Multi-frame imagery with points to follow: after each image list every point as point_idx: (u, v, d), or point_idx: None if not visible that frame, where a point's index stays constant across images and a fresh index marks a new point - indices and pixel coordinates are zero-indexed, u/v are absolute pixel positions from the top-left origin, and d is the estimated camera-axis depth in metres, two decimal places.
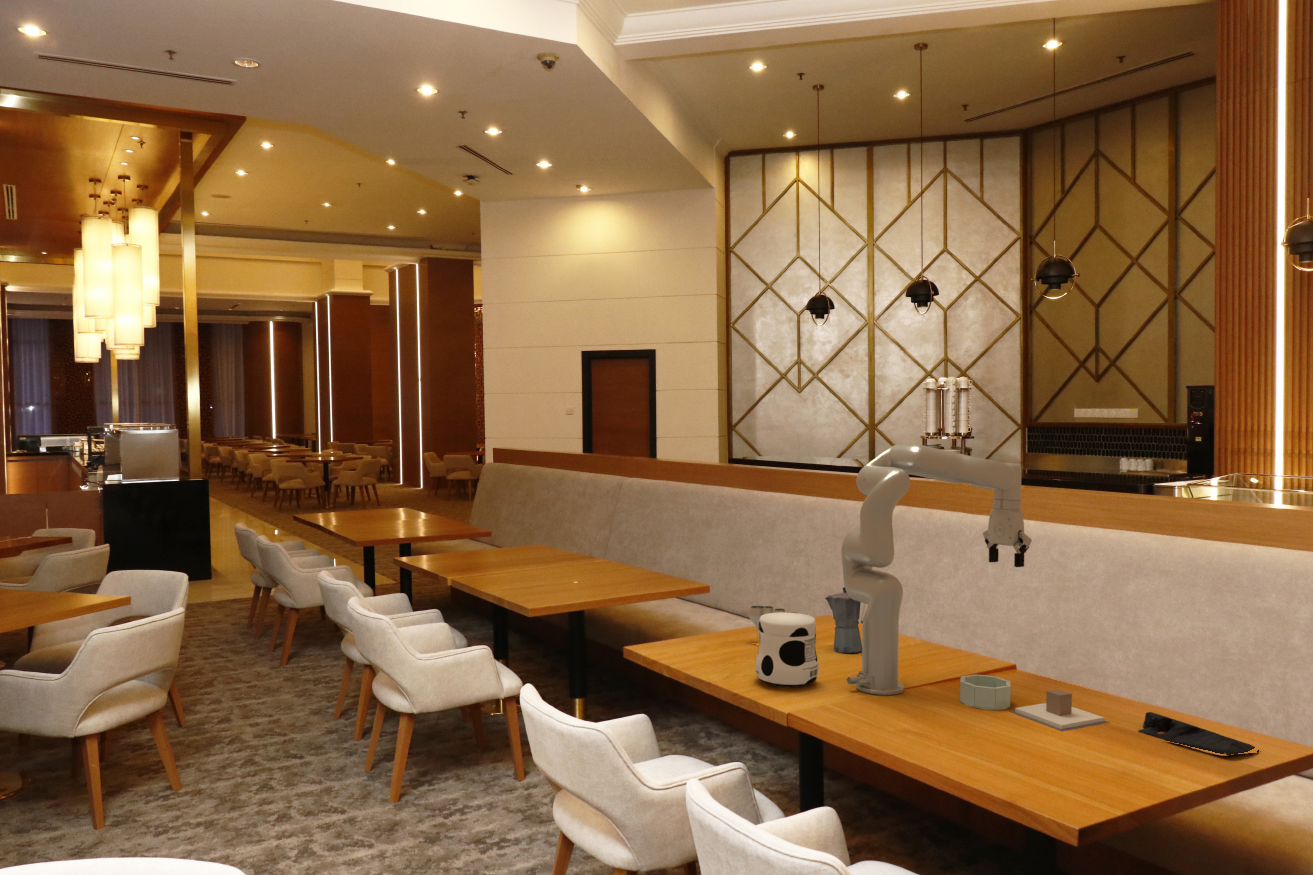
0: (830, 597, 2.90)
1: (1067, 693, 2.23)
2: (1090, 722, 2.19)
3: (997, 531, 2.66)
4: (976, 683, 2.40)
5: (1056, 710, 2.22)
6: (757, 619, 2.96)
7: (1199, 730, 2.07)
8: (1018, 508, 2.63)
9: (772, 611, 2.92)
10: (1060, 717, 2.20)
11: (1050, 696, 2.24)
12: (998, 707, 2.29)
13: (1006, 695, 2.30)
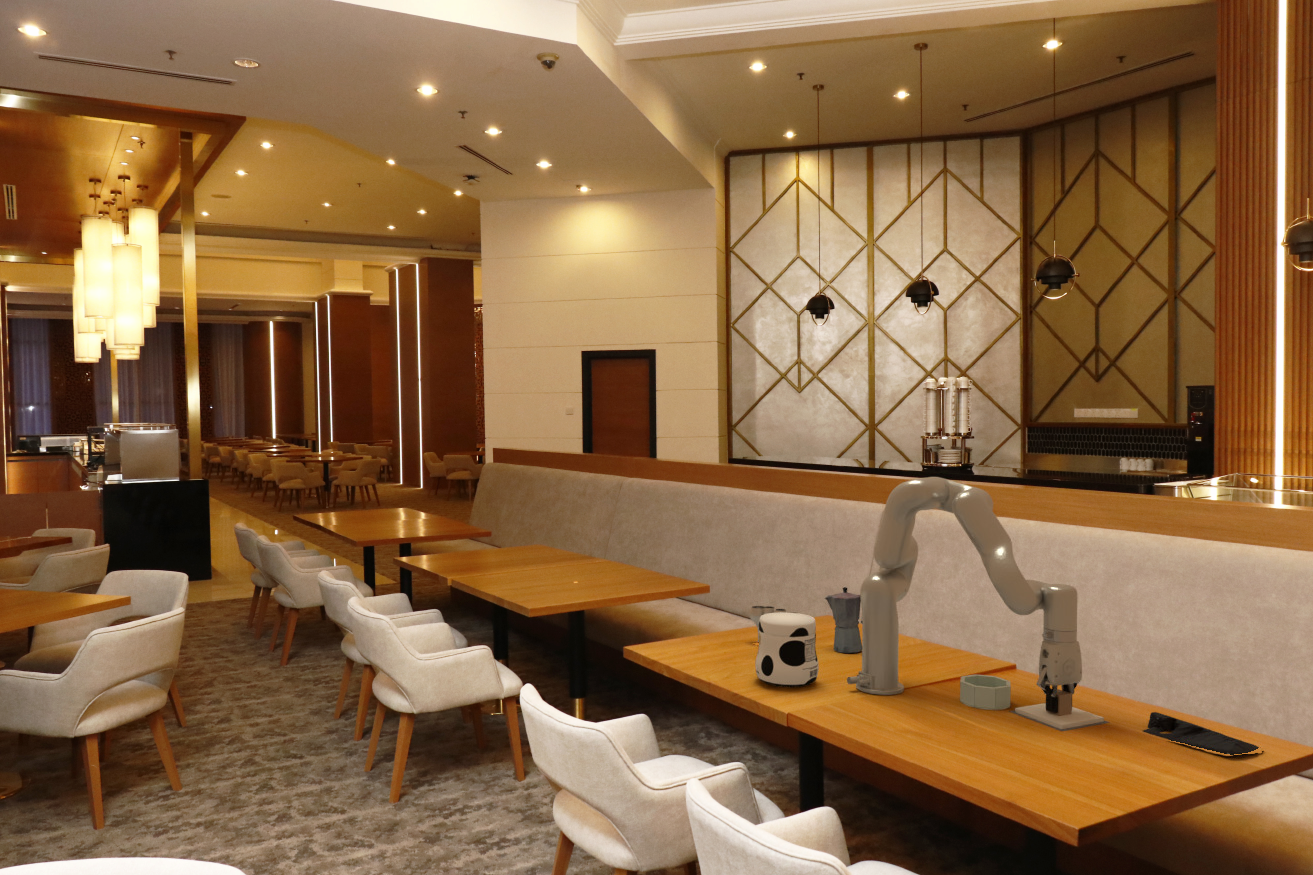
0: (830, 597, 2.90)
1: (1067, 693, 2.23)
2: (1090, 722, 2.19)
3: (1066, 669, 2.21)
4: (976, 683, 2.40)
5: None
6: (758, 619, 2.96)
7: (1203, 730, 2.07)
8: None
9: (773, 611, 2.92)
10: (1060, 717, 2.20)
11: None
12: (998, 707, 2.29)
13: (1006, 695, 2.30)
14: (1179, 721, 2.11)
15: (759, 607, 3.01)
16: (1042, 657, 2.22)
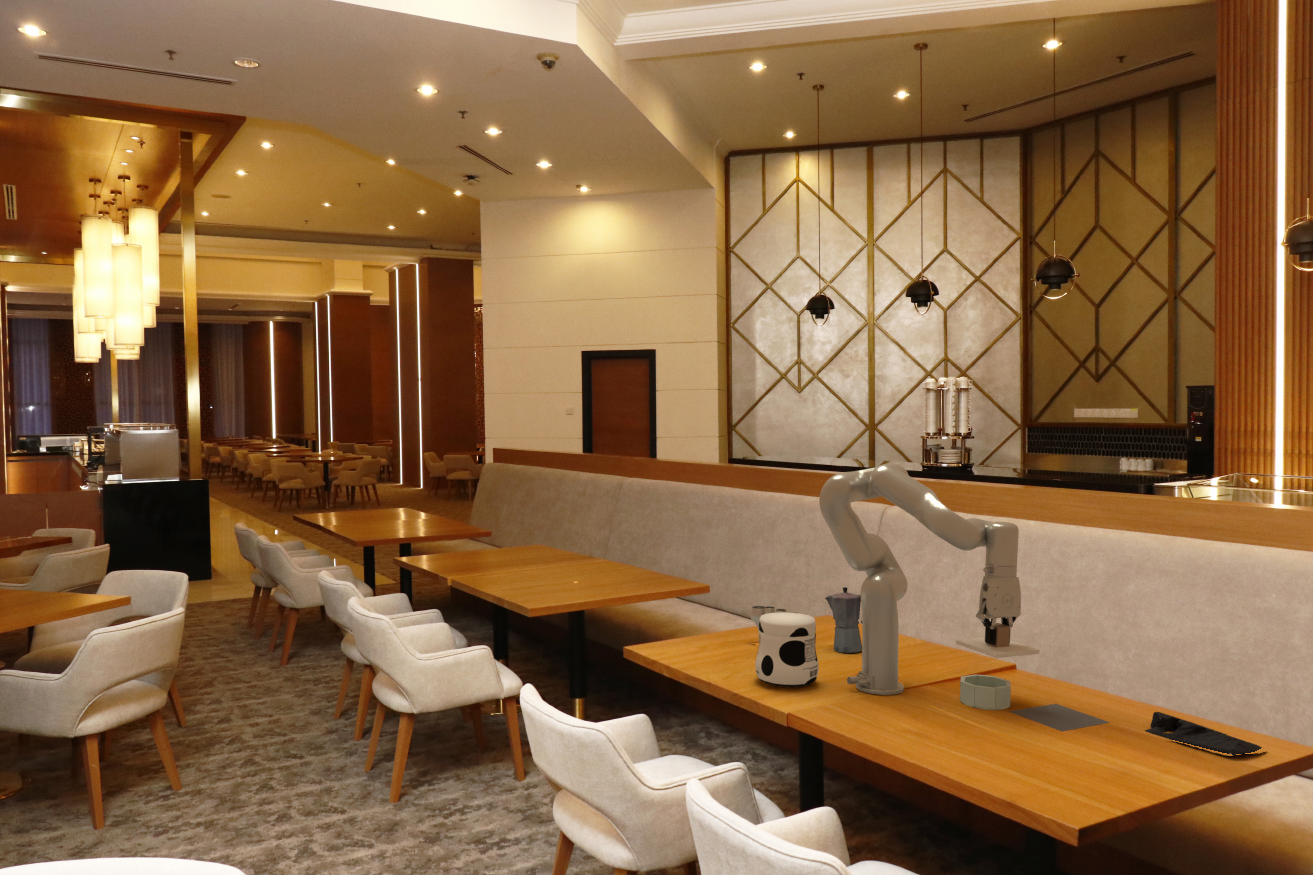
0: (830, 597, 2.90)
1: (1006, 626, 2.32)
2: (1026, 653, 2.28)
3: (1005, 602, 2.30)
4: (976, 683, 2.40)
5: None
6: (758, 619, 2.95)
7: (1206, 730, 2.07)
8: None
9: (773, 611, 2.92)
10: (997, 648, 2.29)
11: None
12: (998, 707, 2.29)
13: (1006, 695, 2.30)
14: (1182, 721, 2.11)
15: (760, 607, 3.00)
16: (982, 591, 2.31)
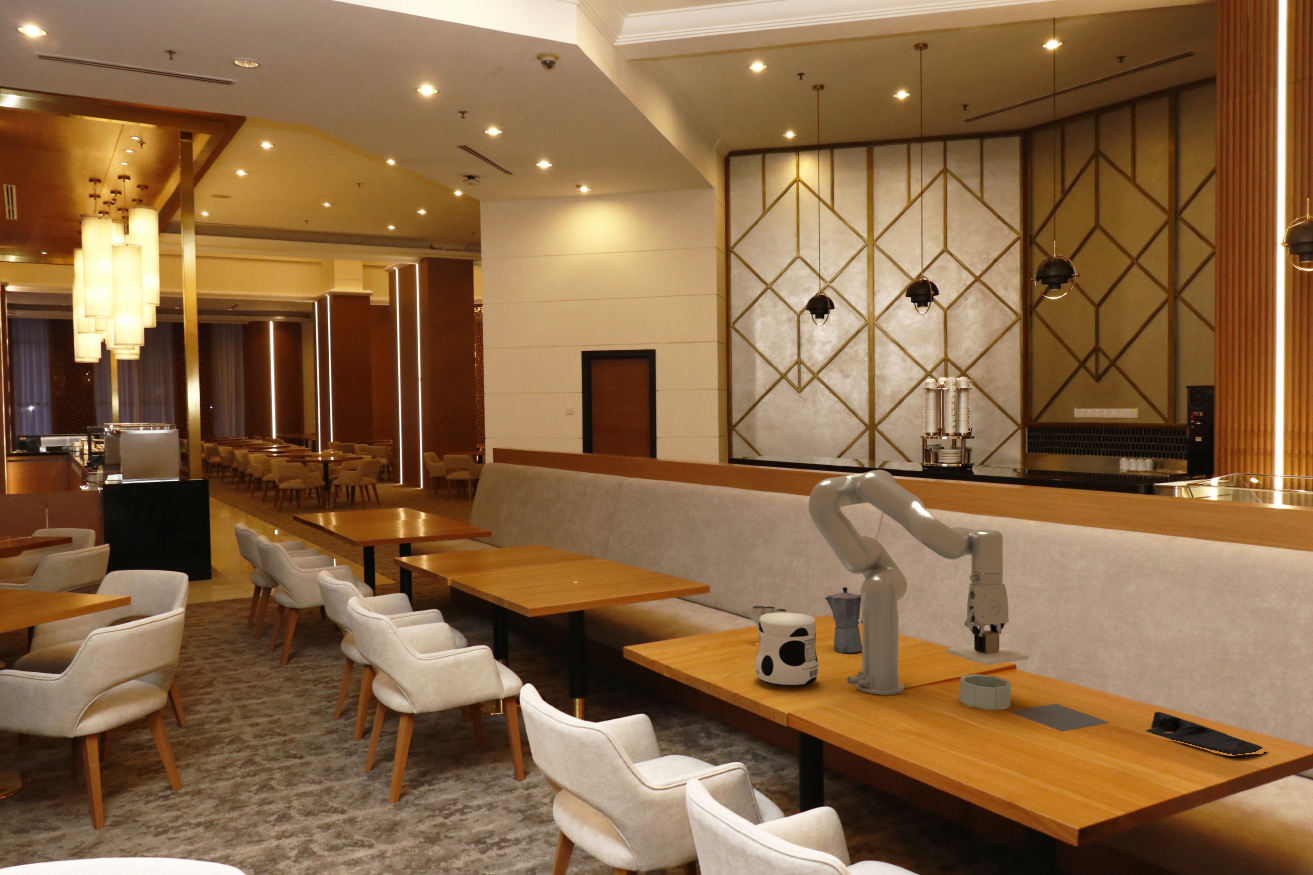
0: (830, 597, 2.90)
1: (994, 633, 2.34)
2: (1015, 659, 2.30)
3: (992, 610, 2.32)
4: (976, 683, 2.40)
5: None
6: (759, 619, 2.95)
7: (1207, 730, 2.07)
8: None
9: (773, 611, 2.92)
10: (987, 655, 2.31)
11: None
12: (998, 707, 2.29)
13: (1006, 695, 2.30)
14: (1183, 721, 2.11)
15: (760, 607, 3.00)
16: (970, 599, 2.33)
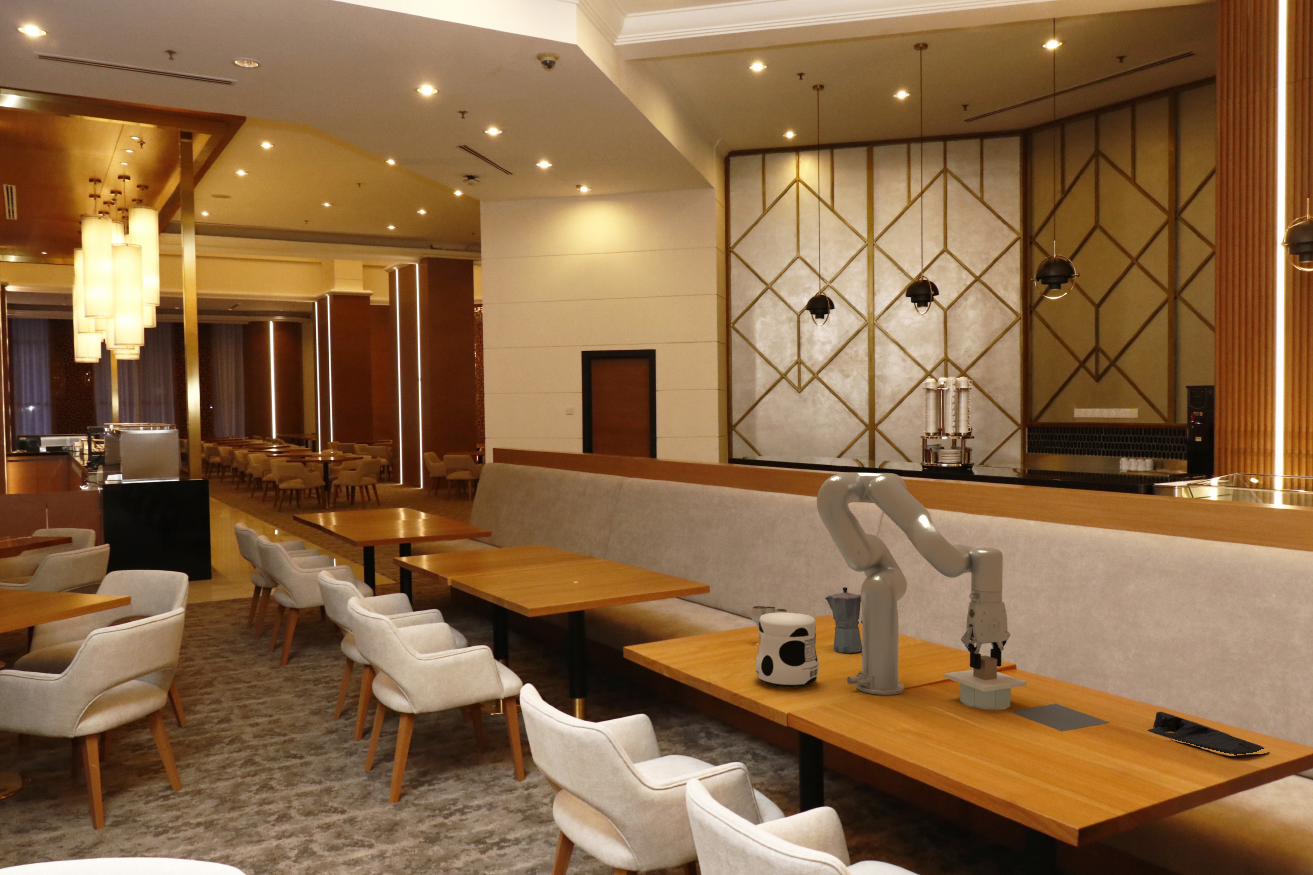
0: (830, 597, 2.90)
1: (992, 659, 2.34)
2: (1013, 686, 2.30)
3: (991, 628, 2.32)
4: None
5: (982, 674, 2.33)
6: (759, 619, 2.95)
7: (1208, 730, 2.07)
8: None
9: (774, 611, 2.92)
10: (985, 681, 2.31)
11: None
12: (998, 707, 2.29)
13: (1006, 695, 2.30)
14: (1184, 721, 2.11)
15: (760, 607, 3.00)
16: (969, 617, 2.34)
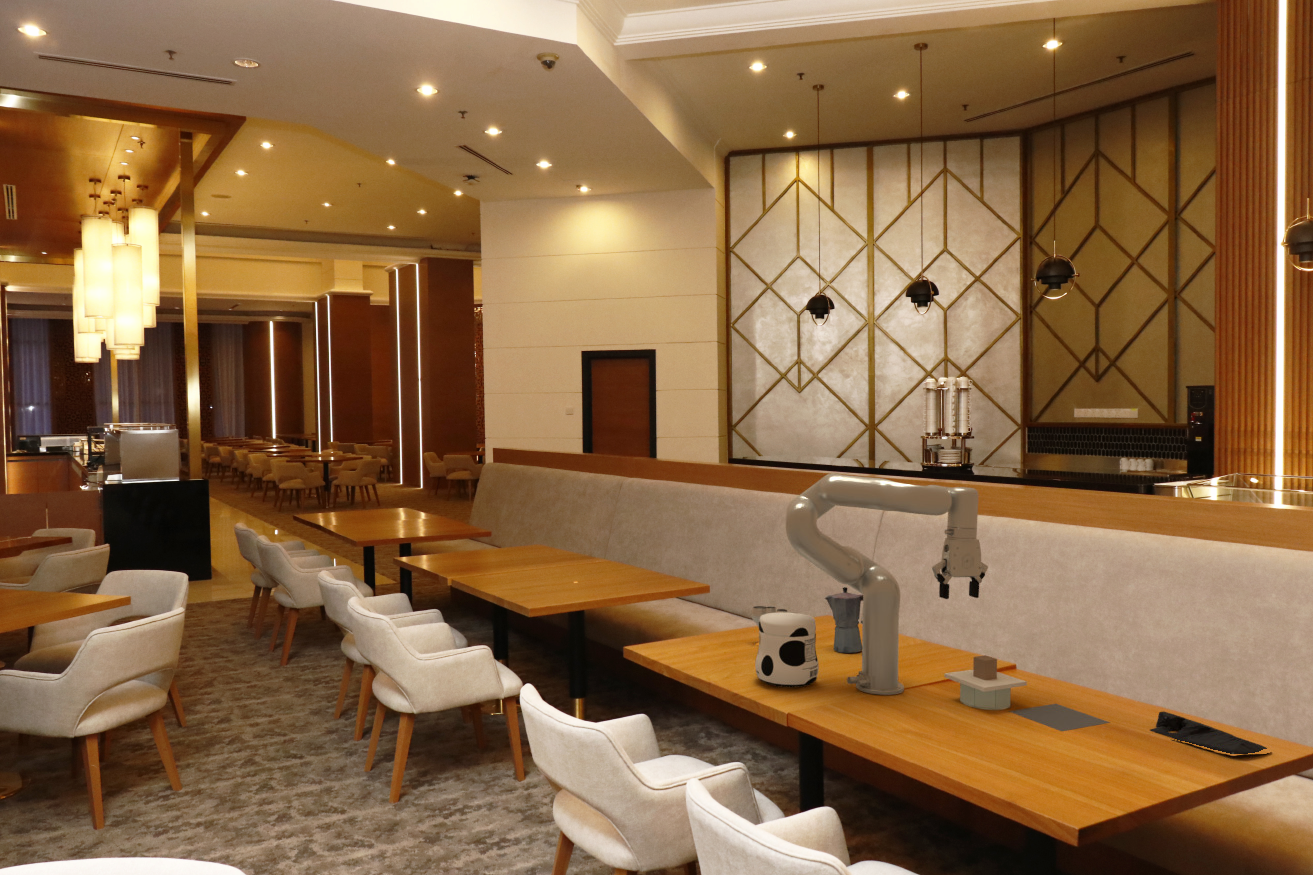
0: (830, 597, 2.90)
1: (992, 659, 2.34)
2: (1013, 686, 2.30)
3: (965, 563, 2.42)
4: None
5: (982, 674, 2.33)
6: (759, 619, 2.95)
7: (1210, 730, 2.07)
8: None
9: (774, 611, 2.92)
10: (985, 681, 2.31)
11: (976, 661, 2.35)
12: (998, 707, 2.29)
13: (1006, 695, 2.30)
14: (1186, 721, 2.11)
15: (761, 607, 3.00)
16: (944, 552, 2.44)
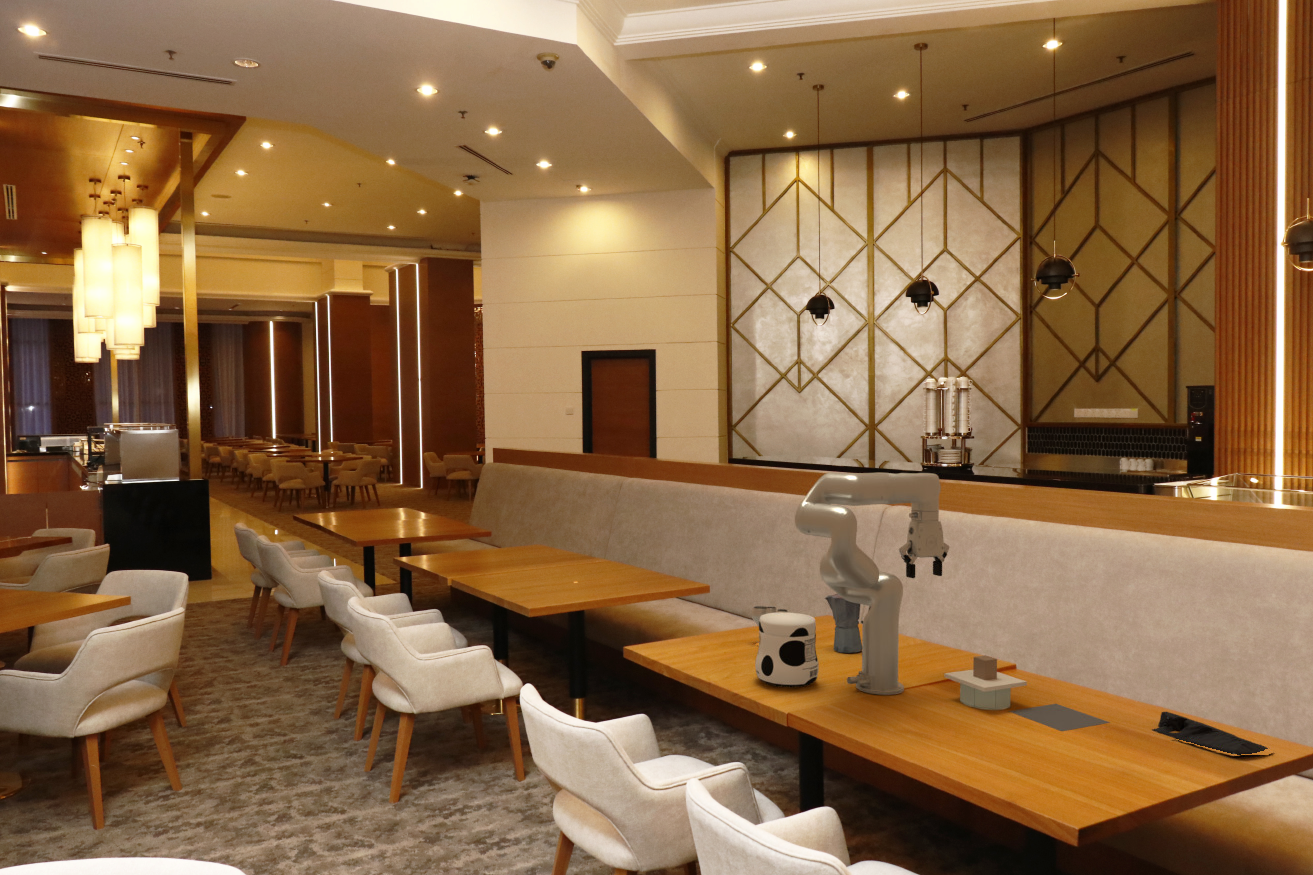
0: (830, 597, 2.90)
1: (992, 659, 2.34)
2: (1013, 686, 2.30)
3: (929, 544, 2.59)
4: None
5: (982, 674, 2.33)
6: None
7: (1212, 730, 2.07)
8: None
9: (775, 612, 2.91)
10: (985, 681, 2.31)
11: (976, 661, 2.35)
12: (998, 707, 2.29)
13: (1006, 695, 2.30)
14: (1188, 721, 2.11)
15: (761, 607, 3.00)
16: (909, 534, 2.60)
